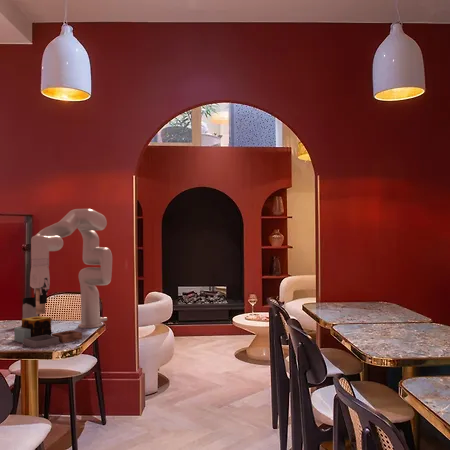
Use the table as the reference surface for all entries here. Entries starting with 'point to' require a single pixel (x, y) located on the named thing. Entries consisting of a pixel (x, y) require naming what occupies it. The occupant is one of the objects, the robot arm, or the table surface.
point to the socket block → (68, 336)
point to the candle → (38, 325)
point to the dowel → (39, 307)
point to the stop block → (21, 334)
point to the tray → (41, 341)
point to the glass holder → (29, 308)
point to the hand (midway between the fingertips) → (40, 302)
